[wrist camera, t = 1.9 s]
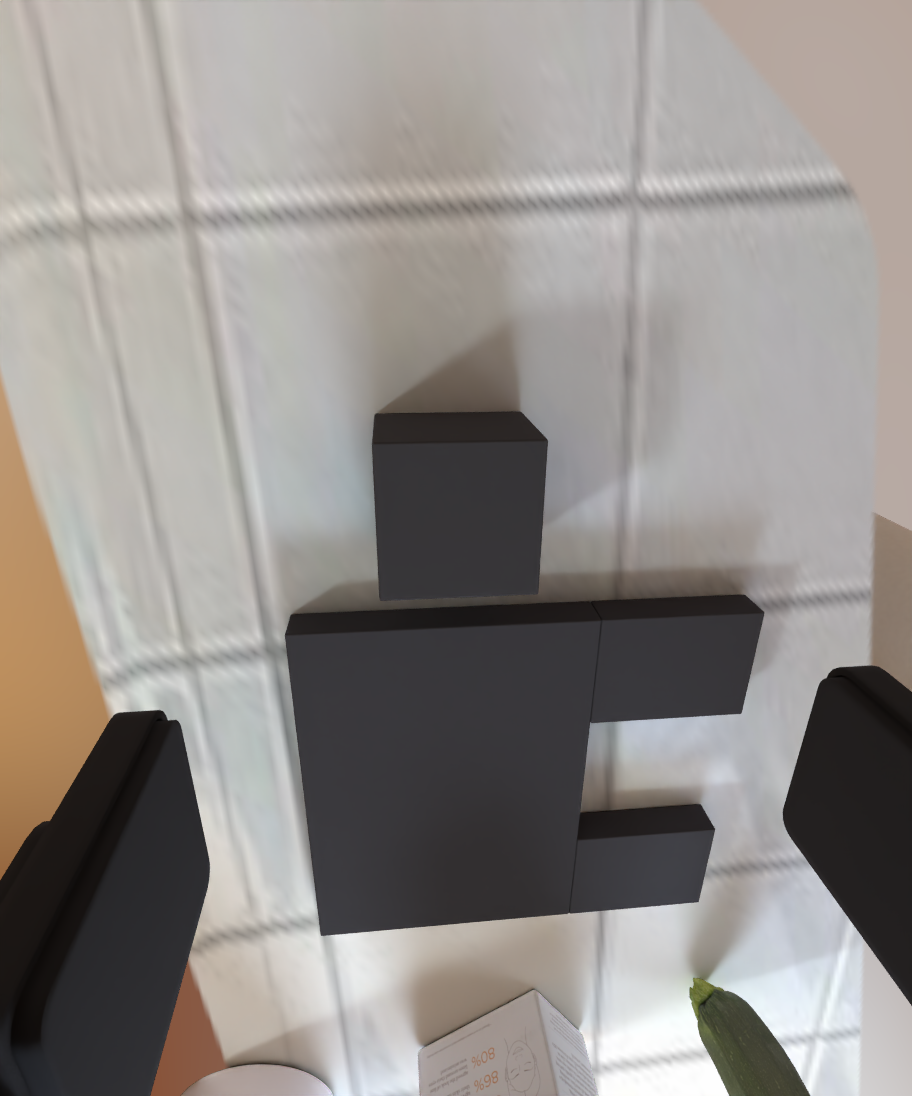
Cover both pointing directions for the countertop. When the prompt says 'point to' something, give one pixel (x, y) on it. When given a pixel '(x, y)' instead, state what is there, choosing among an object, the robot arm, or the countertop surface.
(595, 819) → the base pad
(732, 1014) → the vegetable
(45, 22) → the countertop surface
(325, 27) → the countertop surface
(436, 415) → the pad piece
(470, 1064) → the small box
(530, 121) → the countertop surface
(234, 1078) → the fruit juice
